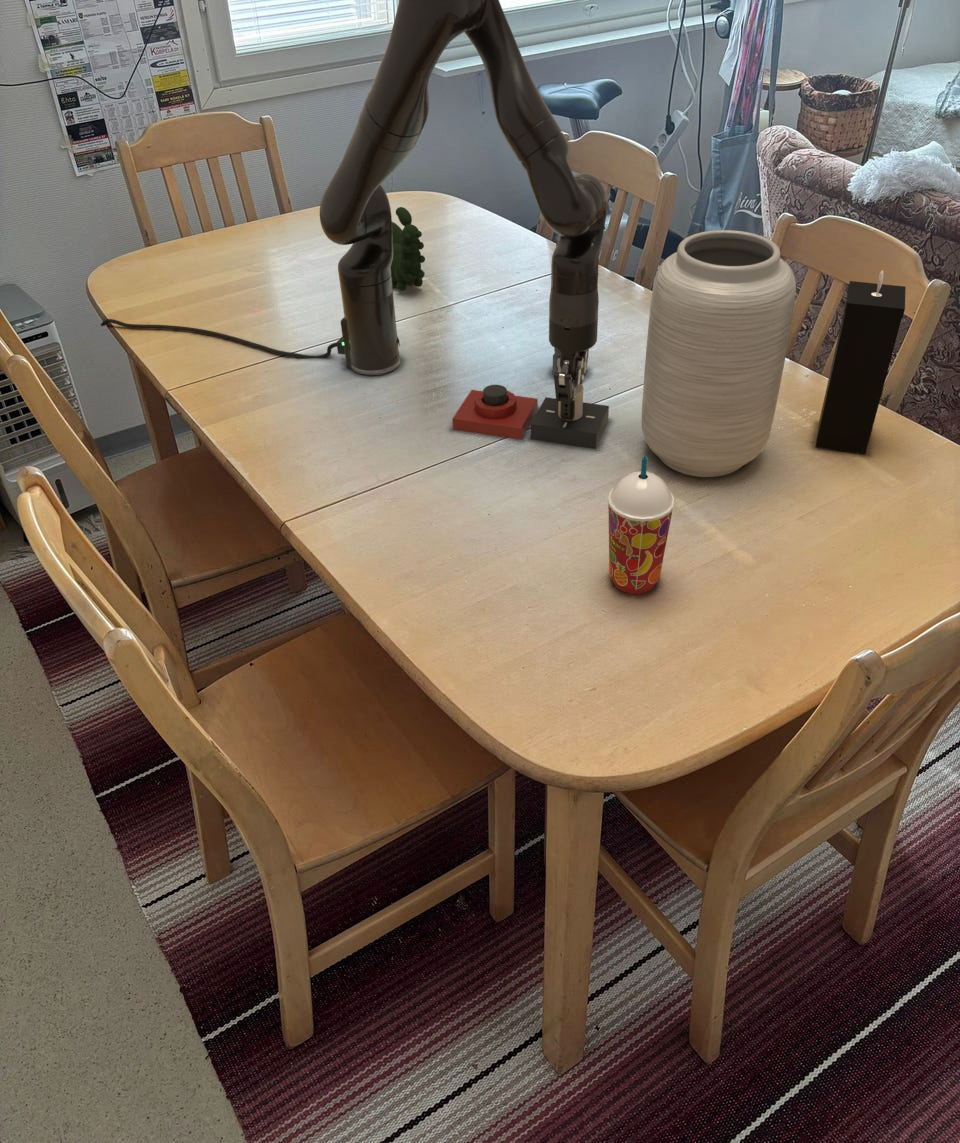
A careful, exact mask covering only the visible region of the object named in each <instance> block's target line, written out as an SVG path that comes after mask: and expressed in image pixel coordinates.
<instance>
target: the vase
mask: <svg viewBox="0 0 960 1143" xmlns="http://www.w3.org/2000/svg"><path fill="white" fill-rule="evenodd" d="M796 294H797V282H796V277H795V274H794V271H793V269H792V268H791V267H790V265H789V264H788V263H787V262H786V261H785V260H784V259H782V258H781V250H780V248H779V246H778V245H777V243H775V242H774V241H772V240H771V239H769V238H768V237H765V236H762V235H760V234H757V233H753V232H748V231H743V230H742V231H741V230H732V229H715V230H706V231H702V232H698V233H694V234H691V235H689V236H687V237H685V238H684V239H683V240H682V241H680V243H679V244H678V246H677V249H676V252H674V253H672V254H670V255H669V256H668V257H666V258H665V259H664V260H663V261H662V263H660V265H659V267H658V268H657V271H656V273H655V276H654V279H653V284H652V290H651V299H650V305H649V316H648V325H647V326H648V327H647V336H646V337H647V338H646V347H645V348H646V349H645V362H644V371H643V388H642V398H641V399H642V400H641V431H642V435H643V438H644V440H645V443H646V445H648V447H649V449H650V450H651V451H652V452H653V453H654V454H655V455H656V456H657V457H658V458H659V459H660V461H661V462H662V463H663V464H665V465H666V466H667V467H669V468H670V469H672V470H673V471H676V472H678V473H681V474H683V475H687V476H691V477H692V476H693V477H699V478H717V477H722V476H726V475H729V474H732V473H734V472H736V471H738V470H739V469H740V468H742V467H743V466H745V465H747V464H749V463H750V462H752V461H753V460H754V459H756V458H757V457H758V456H759V454H761V452H763V450H764V448H765V447H766V445H767V443H768V442H769V439H770V435H771V431H772V429H773V428H772V427H773V424H774V419H775V415H776V414H775V413H776V408H777V404H778V398H779V395H780V390H781V384H782V379H783V378H782V377H783V372H784V367H785V362H786V355H787V350H788V345H789V340H790V334H791V328H792V322H793V316H794V310H795V309H794V308H795V302H796Z"/></svg>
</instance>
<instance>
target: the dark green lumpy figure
mask: <svg viewBox="0 0 960 1143" xmlns="http://www.w3.org/2000/svg"><path fill="white" fill-rule="evenodd" d="M395 215H396V216H397V218H398V221H399V223H400V224H401V225H402V226H403V228H401V226H399V225H398V224H397V222H394V221H392V238H393V260H392V264H391V278H392V288H393V289H394V288H397V290H398V291H401V292H402V291H405V290H406V289H407V286H410V285H413V286H415V287H417V288H419V287H422V286H423V282H424V281H423V278H424V277H425V275H426V274H425V272H424V270H423V269H422V264H423V263H425V261H426V257H425V256H424V255H423V254H422V253H421V251H420V250H423V249H424V247H425V244H424V242H422V241H421V240H420V238H421V237H422V235H423V233H422V231H421V230H420V229H419V228H418V227H417V226H416V225H414V224H412V222H413V218H412V214H411V213H410V211H409V210H408V209H407V208H406V207H403V206H400V207H397V208H396V209H395Z"/></svg>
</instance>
